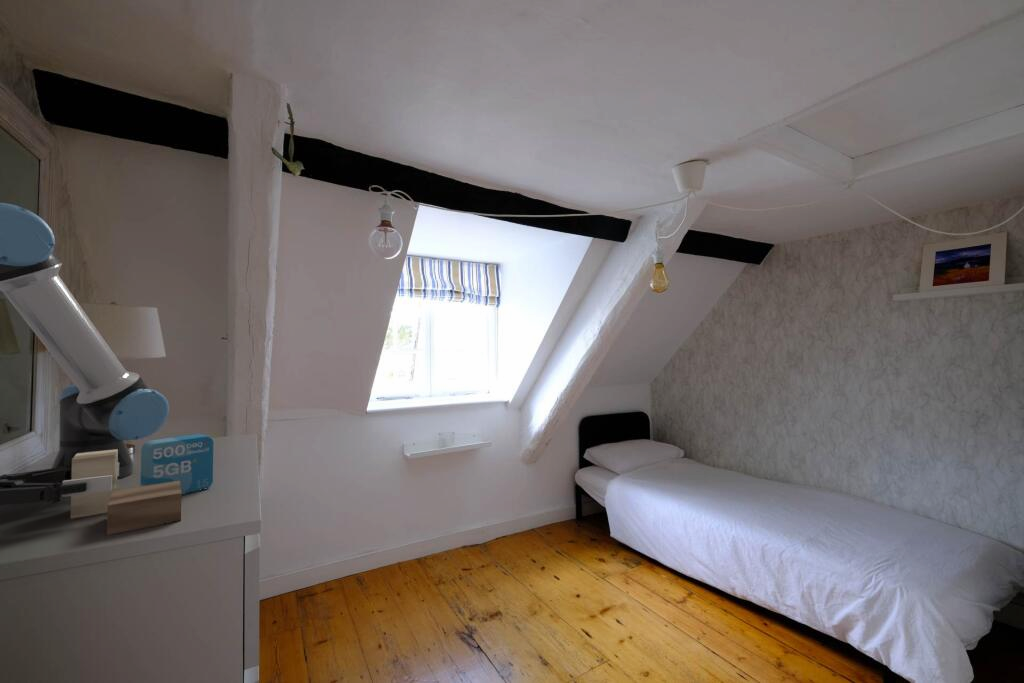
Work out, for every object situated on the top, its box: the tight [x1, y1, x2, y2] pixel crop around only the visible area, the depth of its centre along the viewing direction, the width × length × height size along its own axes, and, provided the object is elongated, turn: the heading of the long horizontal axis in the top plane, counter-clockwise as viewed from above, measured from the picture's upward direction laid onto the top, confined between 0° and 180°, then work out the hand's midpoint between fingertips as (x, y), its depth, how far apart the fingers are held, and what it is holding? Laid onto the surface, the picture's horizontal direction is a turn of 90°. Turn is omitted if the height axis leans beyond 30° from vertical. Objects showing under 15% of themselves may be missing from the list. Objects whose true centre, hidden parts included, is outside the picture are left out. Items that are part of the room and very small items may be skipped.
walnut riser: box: [106, 481, 182, 536], centre depth 81 cm, size 10×10×5 cm
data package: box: [140, 433, 214, 495], centre depth 96 cm, size 12×4×12 cm, turn 144°
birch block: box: [70, 449, 118, 520], centre depth 85 cm, size 6×6×11 cm
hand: (115, 475), depth 87 cm, fingers open, 11 cm apart
